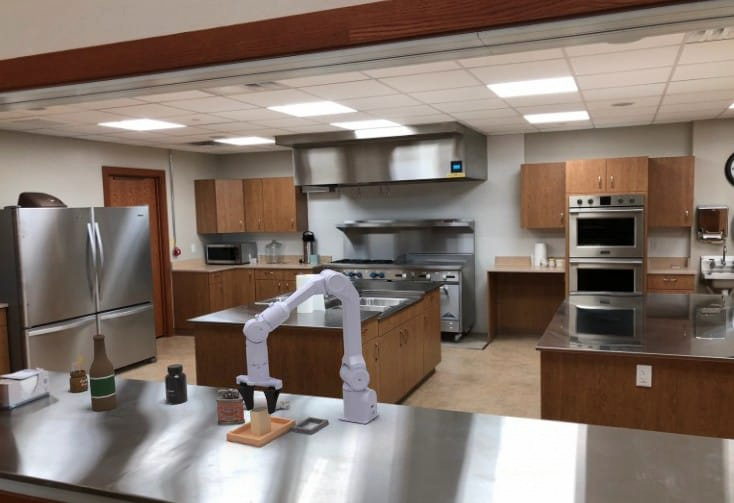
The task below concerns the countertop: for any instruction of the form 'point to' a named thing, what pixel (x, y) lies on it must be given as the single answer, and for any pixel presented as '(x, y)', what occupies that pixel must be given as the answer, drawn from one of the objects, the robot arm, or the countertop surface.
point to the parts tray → (277, 429)
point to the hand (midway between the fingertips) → (260, 411)
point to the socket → (311, 431)
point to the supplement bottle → (176, 384)
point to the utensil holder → (78, 379)
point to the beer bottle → (102, 378)
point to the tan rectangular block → (260, 420)
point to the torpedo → (263, 402)
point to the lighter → (230, 408)
